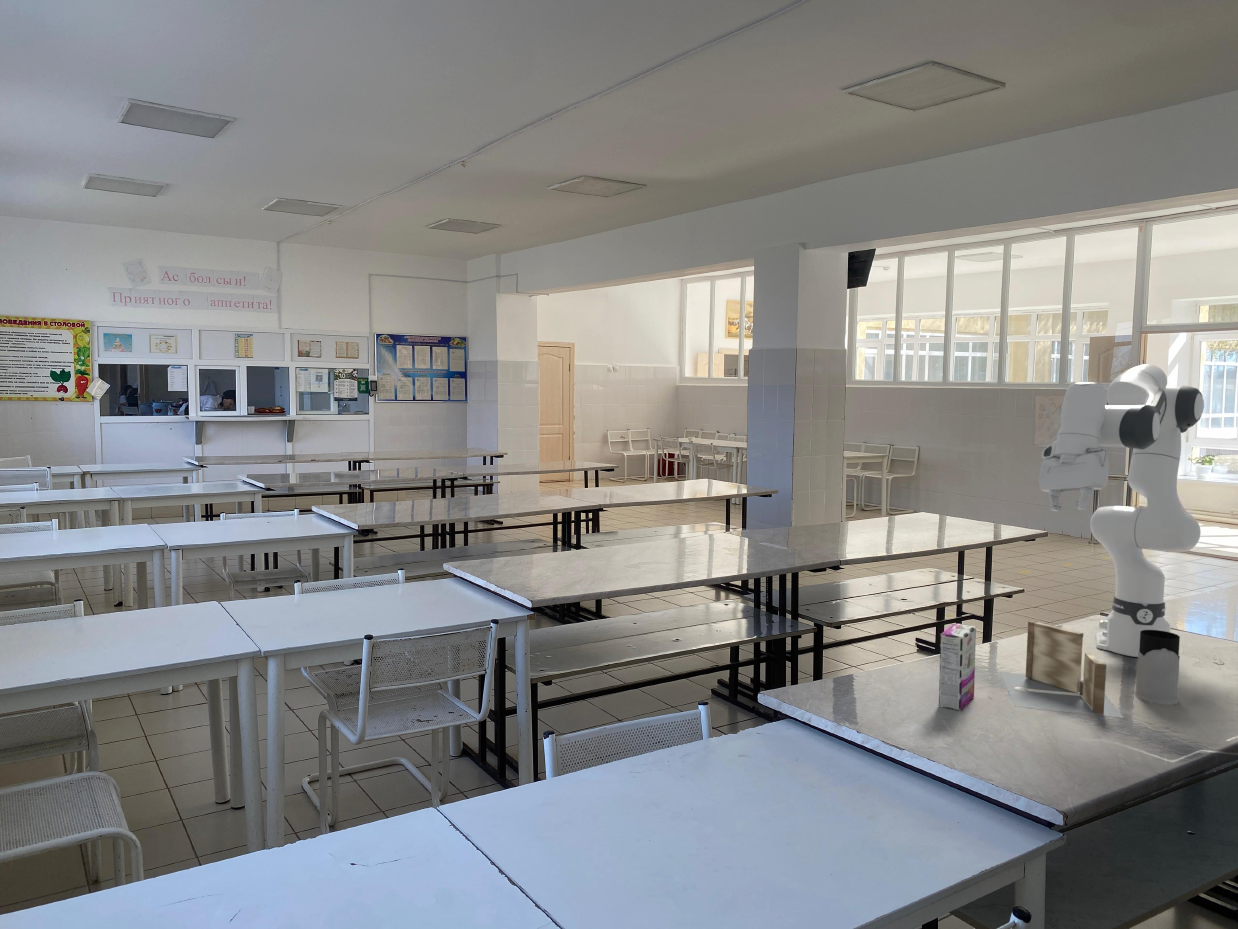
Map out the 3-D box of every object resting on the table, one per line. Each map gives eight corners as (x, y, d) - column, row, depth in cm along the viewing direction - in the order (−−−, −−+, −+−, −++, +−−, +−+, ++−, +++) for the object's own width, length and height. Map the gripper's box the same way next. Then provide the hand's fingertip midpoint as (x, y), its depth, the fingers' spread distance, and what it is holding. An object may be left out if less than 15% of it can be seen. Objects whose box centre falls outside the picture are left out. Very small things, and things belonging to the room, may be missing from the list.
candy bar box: (951, 693, 193) (954, 622, 192) (974, 697, 190) (977, 626, 189) (936, 706, 184) (939, 632, 183) (960, 711, 181) (963, 636, 180)
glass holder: (1138, 703, 187) (1142, 637, 186) (1123, 683, 201) (1126, 621, 200) (1184, 708, 185) (1188, 641, 183) (1165, 688, 198) (1169, 625, 197)
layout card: (999, 673, 207) (999, 671, 207) (1095, 682, 201) (1095, 680, 201) (1015, 708, 183) (1015, 706, 183) (1124, 720, 177) (1124, 717, 177)
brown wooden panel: (1080, 691, 193) (1083, 633, 192) (1076, 693, 192) (1079, 634, 191) (1030, 676, 203) (1032, 620, 202) (1025, 677, 202) (1028, 621, 201)
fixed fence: (1078, 693, 192) (1080, 647, 191) (1086, 694, 192) (1089, 647, 191) (1094, 713, 180) (1096, 663, 179) (1103, 714, 179) (1106, 664, 179)
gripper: (1121, 448, 182) (1111, 511, 180) (1062, 457, 202) (1053, 513, 201) (1093, 442, 181) (1084, 505, 180) (1037, 451, 202) (1028, 508, 200)
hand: (1067, 510), depth 190 cm, fingers open, 8 cm apart
